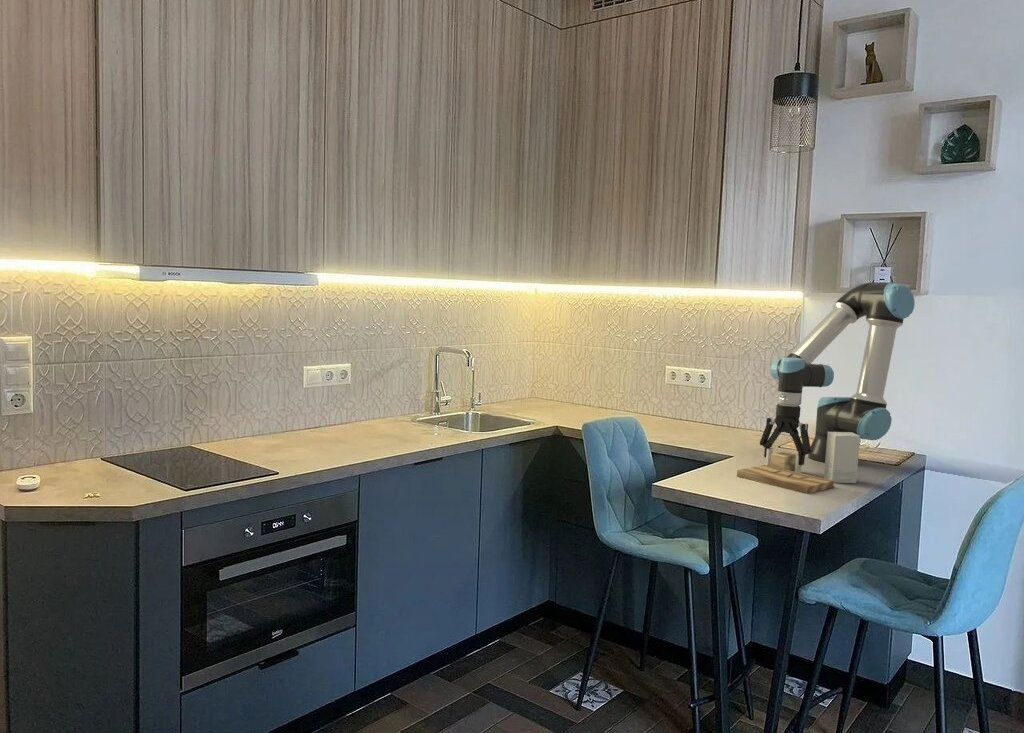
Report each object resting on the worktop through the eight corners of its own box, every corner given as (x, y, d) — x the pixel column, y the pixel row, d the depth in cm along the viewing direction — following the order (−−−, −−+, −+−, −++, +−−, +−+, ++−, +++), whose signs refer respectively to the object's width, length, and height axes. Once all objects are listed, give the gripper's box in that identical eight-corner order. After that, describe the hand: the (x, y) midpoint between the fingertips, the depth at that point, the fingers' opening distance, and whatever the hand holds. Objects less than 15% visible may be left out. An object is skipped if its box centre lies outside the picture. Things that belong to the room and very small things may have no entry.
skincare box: (847, 479, 255) (852, 431, 254) (857, 484, 249) (862, 435, 247) (822, 478, 255) (826, 430, 254) (831, 483, 249) (835, 434, 247)
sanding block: (782, 469, 266) (783, 451, 265) (796, 472, 262) (797, 454, 262) (769, 471, 261) (771, 454, 260) (783, 475, 257) (785, 456, 256)
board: (763, 470, 261) (764, 464, 261) (833, 487, 243) (834, 480, 243) (736, 476, 251) (737, 470, 250) (807, 493, 233) (807, 487, 232)
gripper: (752, 400, 265) (746, 465, 267) (815, 410, 248) (808, 479, 251) (764, 399, 270) (758, 462, 272) (827, 409, 253) (820, 476, 255)
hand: (782, 470), depth 261 cm, fingers open, 10 cm apart
